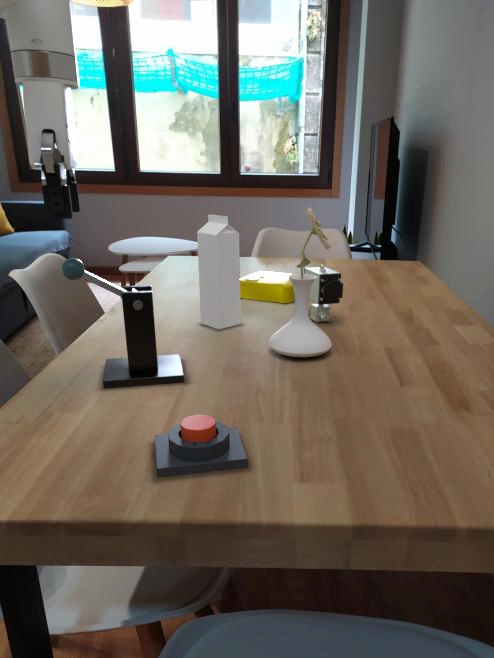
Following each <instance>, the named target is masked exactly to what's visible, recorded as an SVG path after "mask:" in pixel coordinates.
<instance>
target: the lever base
mask: <svg viewBox="0 0 494 658" xmlns="http://www.w3.org/2000/svg"><path fill="white" fill-rule="evenodd" d="M152 287H153V286H152V285H151V284H142V285H122V286H121V288H122V289H124V290H126V291H128V292H122V293H121V295H122V297H121V304H122V313H123V323H124V333H125V343H126V354H127V357H116V358H113V357H112V358H106V359H105V363H104V364H105V365H104V371H103V378H102V387H103V389H111V388H113V389H114V388H125V387H137V386H138V387H139V386H150V385H151V386H152V385H164V384H180V383H185V373H184V369H183V365H182V360H181V356H180V354H162V355H158V350H157V348H158V347H157V335H156V324H155V312H154V297H153V288H152ZM133 288H134V289H136V290H138V291H131V290H132V289H133Z"/></svg>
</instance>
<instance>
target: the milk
mask: <svg viewBox="0 0 494 658" xmlns="http://www.w3.org/2000/svg"><path fill="white" fill-rule="evenodd" d="M196 235H197V237H196V239H197V258H198V259H197V260H198V283H199V307H200V308H199V309H200V324H201V325H204V326H207V327H211V328H213V329H217V330H223V329H227V328H230V327H231V328H232V327H235V326H238V325H241V298H240V279H241V261H240V260H241V259H240V258H241V257H240V256H241V255H240V251H241V249H240V248H241V247H240V232H239V231H238V230H236V229H235V228H234V227H233V226H231V225H229V218H228V216H227V215H220V214H219V215H218V214H211V213H209V214H207V223H205V224H204V225H203V226H202V227H200V229H198V231H196Z"/></svg>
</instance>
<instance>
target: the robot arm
mask: <svg viewBox="0 0 494 658" xmlns="http://www.w3.org/2000/svg"><path fill="white" fill-rule="evenodd" d="M72 13H73V12H72V5H71V0H0V19H3V20H5V21H6V22H5V24H6V28H7V36H8V41H9V47H10V55H11V62H12V70H13V75H14V82H15V84H16V85H17V86H22V97H23V98H22V100H23V112H24V122H25V123H24V124H25V132H26V138H27V139H26V141H27V149H28V159H29V165H30V166H31V167H32V168H33V169H35V170H40V171H41V174H40V175H41V179H40V180H41V184H42V185H41V191H42V192H41V193H42V199H43V200H42V201H43V207H44V213H45V217H46V219H48V220H72V218H73V216H74V215H73V213H79V212H81V204H80V203H81V202H80V196H79V187H78V182H77V179H76V173H75V168H77V166H78V151H77V139H76V138H77V137H76V128H75V126H76V125H75V117H74V109H73V100H72V94H71V93H72V92H71V91H72V90H78V89H80V88H81V86H80V77H79V69H78V68H79V67H78V61H77V51H76V42H75V41H76V40H75V31H74V22H73V14H72Z"/></svg>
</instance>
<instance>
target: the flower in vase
mask: <svg viewBox="0 0 494 658" xmlns="http://www.w3.org/2000/svg"><path fill="white" fill-rule="evenodd" d="M306 214H307V218H308V221H309V223H310V224H311V230H310V233H309V234H308V236H307V238H306V240H305V242H304V244H303V247H302V250H301V251H300V252H301V253H300V254H301V255H300V263H298V264H297V265H295V267H296V268H299V269H300V273H290V274H291V275H289V276H288V278H289V279H290V281H291V283H292V285H293V288H294V293H295V301H294V314H293V316H292V318H291V320H290V321H288V322H287V323H286V324H285V325H283V326H282V327H281V328H279V329H278V330H277V331H276V332H274V333H273V334H272V335H271V336H270V339H269V340H268V345H269V347H270V349H271V350H273V351H274V352H276V353H277V354H280V355H284V356H288V357H294V358H309V357H317V356H320V355H322V354H325V353H327V352H329V351H330V349H331V348H332V345H333V343H332V341H331V338H330V337H329V336H328V335H327V333H325V332H324V331H323V330H322V329H321V328H320V327H318V326H317V325H316V324H315V322H312V321H313V320H312V319H311V318H310V315H309V310H308V309H309V308H308V307H309V306H308V305H309V292H310V289H311V286H312V284H313V282H314V281H315V280H316V278H317V277H316V276H315V275H310V274H304V267H308V265H310V264H311V263H312V261H311V260H309V258H307V257H306V254H305V250H306V247H307V245H308V243H309V241H310V239H311V237H312V235H314V236H317V238H318V240H319V242H320V244H321V245H322V246H323V247H324V249H325V250H326V251H328V250H330V249H331V245H330V243H329V242H328V240H329V239H328V236H327V235H326V234H325V233H324V232H323V229H322V223H321V222H320V220H318V219H316V215H315V212H314V210H313V209H312V208H311V207H309V206H308V207H307V208H306Z"/></svg>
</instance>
